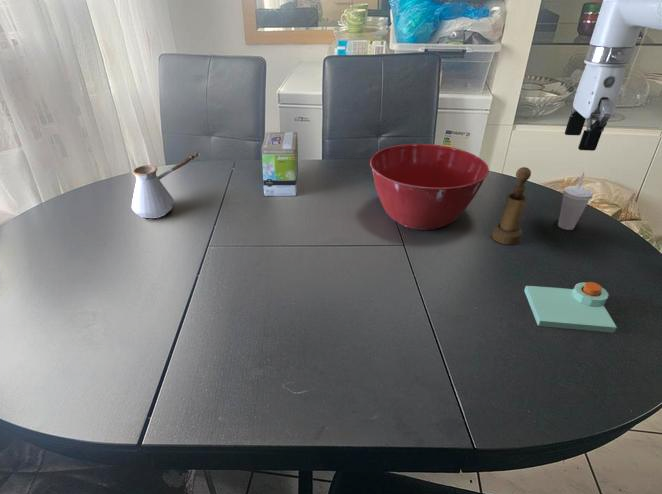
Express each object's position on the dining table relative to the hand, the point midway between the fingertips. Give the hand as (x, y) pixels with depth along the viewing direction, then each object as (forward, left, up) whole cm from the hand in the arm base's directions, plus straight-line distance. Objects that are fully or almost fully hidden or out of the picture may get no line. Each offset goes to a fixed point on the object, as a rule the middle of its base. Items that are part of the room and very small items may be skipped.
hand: (578, 142), depth 97 cm
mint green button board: (+4, +30, -23) cm, 38 cm away
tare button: (0, +27, -21) cm, 34 cm away
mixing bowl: (+30, -5, -23) cm, 39 cm away
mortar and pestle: (+10, +3, -23) cm, 26 cm away
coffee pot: (+99, -2, -23) cm, 102 cm away
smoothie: (-6, -5, -23) cm, 25 cm away
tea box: (+71, -21, -23) cm, 78 cm away
